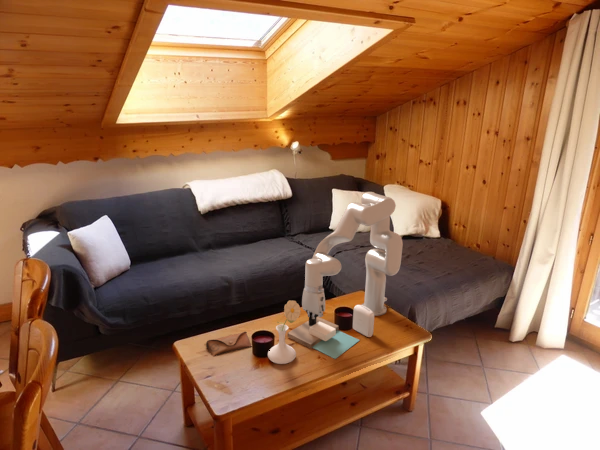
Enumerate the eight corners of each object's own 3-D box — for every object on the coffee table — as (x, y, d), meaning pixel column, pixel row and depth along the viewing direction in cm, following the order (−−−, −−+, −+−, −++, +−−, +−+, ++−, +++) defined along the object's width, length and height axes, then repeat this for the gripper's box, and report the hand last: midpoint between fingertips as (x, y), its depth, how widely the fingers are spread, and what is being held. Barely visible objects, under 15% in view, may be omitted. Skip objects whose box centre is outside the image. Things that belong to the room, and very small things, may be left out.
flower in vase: (272, 369, 157) (272, 311, 149) (264, 353, 167) (263, 297, 160) (304, 362, 161) (305, 305, 154) (293, 346, 172) (294, 292, 164)
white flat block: (319, 327, 183) (319, 321, 182) (335, 334, 177) (336, 328, 176) (309, 333, 178) (309, 327, 177) (325, 341, 172) (325, 335, 171)
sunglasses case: (211, 357, 163) (208, 340, 164) (208, 357, 169) (205, 340, 171) (253, 346, 171) (250, 330, 172) (248, 346, 177) (245, 330, 179)
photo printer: (350, 328, 186) (352, 304, 183) (357, 325, 189) (359, 301, 185) (368, 338, 179) (369, 313, 175) (374, 335, 181) (376, 310, 178)
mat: (337, 330, 184) (337, 329, 184) (359, 340, 177) (359, 340, 177) (311, 347, 171) (312, 346, 171) (335, 359, 164) (335, 358, 164)
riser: (316, 319, 193) (316, 315, 192) (338, 329, 185) (338, 325, 184) (287, 336, 178) (287, 332, 178) (310, 348, 170) (310, 344, 170)
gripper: (332, 289, 174) (330, 327, 179) (306, 279, 183) (305, 316, 188) (321, 295, 168) (320, 334, 174) (294, 284, 178) (294, 322, 183)
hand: (312, 324), depth 181 cm, fingers closed
